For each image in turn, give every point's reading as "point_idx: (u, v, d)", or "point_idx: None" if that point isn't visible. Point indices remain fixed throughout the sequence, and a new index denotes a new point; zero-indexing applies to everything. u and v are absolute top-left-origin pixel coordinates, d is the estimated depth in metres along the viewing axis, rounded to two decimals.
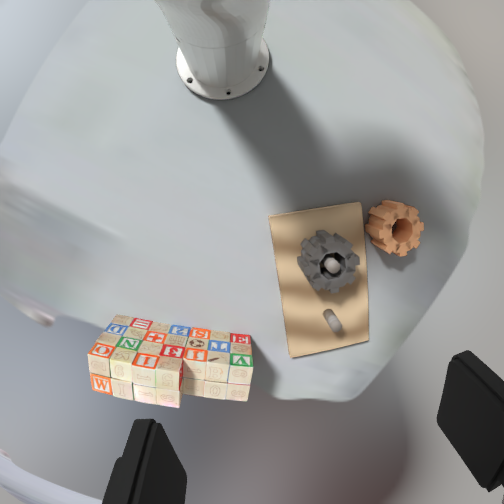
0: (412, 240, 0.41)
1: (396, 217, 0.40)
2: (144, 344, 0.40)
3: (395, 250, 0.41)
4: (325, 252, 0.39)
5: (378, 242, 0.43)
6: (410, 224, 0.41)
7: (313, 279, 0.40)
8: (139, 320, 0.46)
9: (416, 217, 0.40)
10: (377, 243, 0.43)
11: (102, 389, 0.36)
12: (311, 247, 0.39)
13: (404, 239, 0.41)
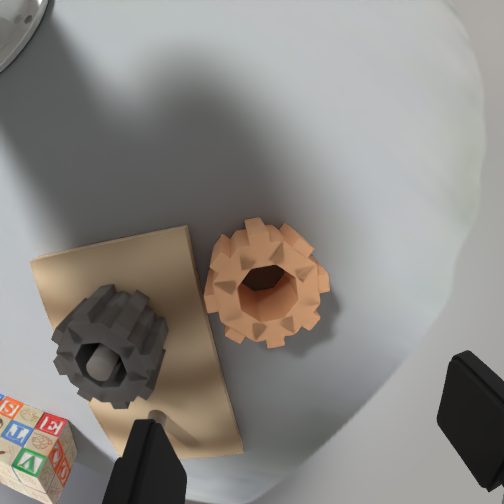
0: (298, 314, 0.19)
1: (248, 265, 0.18)
2: None
3: (253, 336, 0.19)
4: (78, 340, 0.17)
5: None
6: (294, 277, 0.19)
7: (74, 383, 0.18)
8: None
9: (307, 262, 0.18)
10: None
11: None
12: (56, 328, 0.17)
13: (282, 309, 0.20)
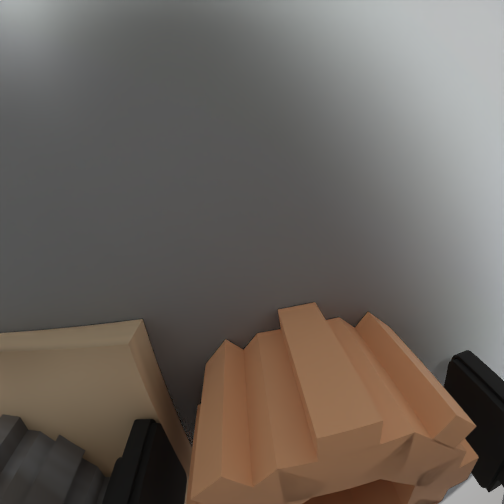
0: None
1: (305, 493, 0.05)
2: None
3: None
4: None
5: None
6: None
7: None
8: None
9: (450, 455, 0.05)
10: None
11: None
12: None
13: None
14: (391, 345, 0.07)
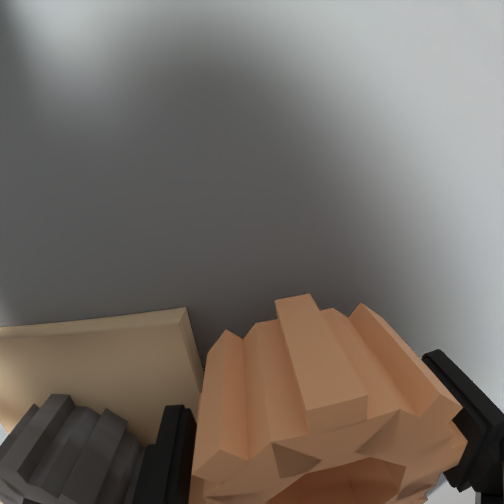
0: None
1: (298, 469, 0.05)
2: None
3: None
4: (18, 492, 0.07)
5: None
6: None
7: None
8: None
9: (439, 436, 0.05)
10: None
11: None
12: None
13: (356, 493, 0.07)
14: (381, 332, 0.08)
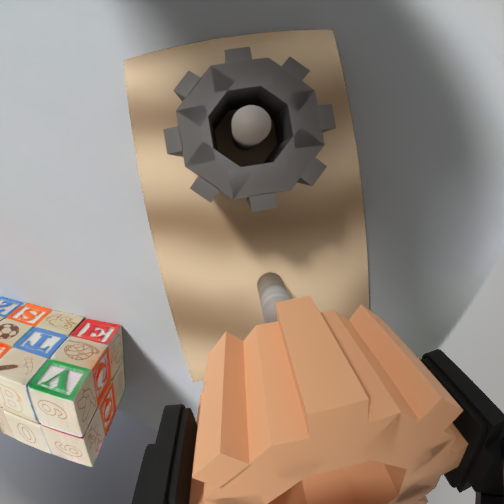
0: None
1: (299, 472, 0.05)
2: None
3: None
4: (224, 85, 0.12)
5: None
6: None
7: (192, 165, 0.13)
8: None
9: (439, 438, 0.05)
10: None
11: None
12: (186, 75, 0.12)
13: (356, 495, 0.07)
14: (382, 334, 0.08)
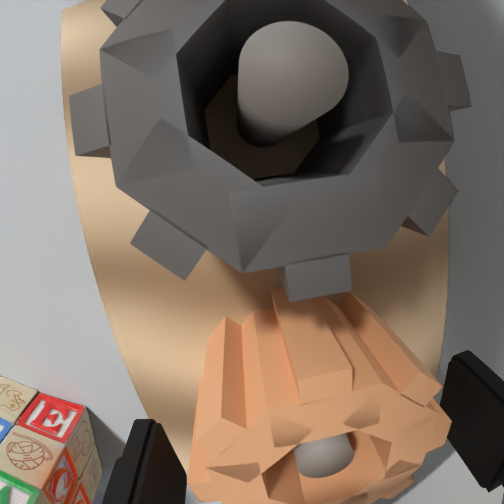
0: (379, 487, 0.07)
1: (292, 439, 0.06)
2: None
3: None
4: None
5: None
6: None
7: (134, 182, 0.05)
8: None
9: (422, 413, 0.06)
10: None
11: None
12: None
13: (346, 472, 0.08)
14: (368, 318, 0.09)
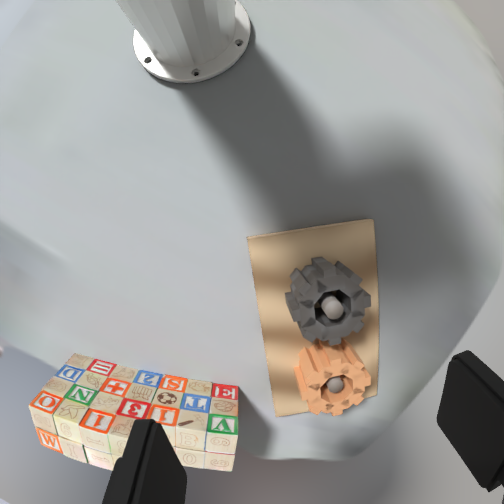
0: (352, 397, 0.30)
1: (328, 376, 0.29)
2: (100, 396, 0.28)
3: (325, 410, 0.30)
4: (322, 289, 0.27)
5: None
6: (351, 378, 0.30)
7: (305, 327, 0.28)
8: (100, 362, 0.34)
9: (360, 372, 0.29)
10: None
11: (51, 445, 0.24)
12: (303, 282, 0.27)
13: (342, 394, 0.30)
14: (347, 347, 0.32)
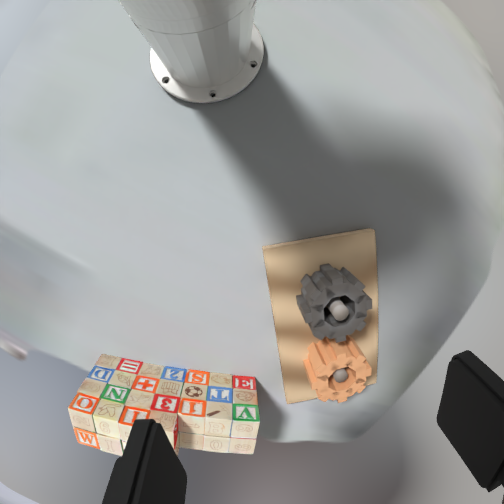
0: (355, 386, 0.34)
1: (334, 368, 0.33)
2: (133, 393, 0.33)
3: (332, 398, 0.34)
4: (331, 295, 0.31)
5: None
6: (354, 370, 0.34)
7: (315, 327, 0.32)
8: (127, 361, 0.39)
9: (362, 364, 0.33)
10: None
11: (88, 442, 0.29)
12: (314, 290, 0.31)
13: (346, 383, 0.35)
14: (350, 342, 0.36)
